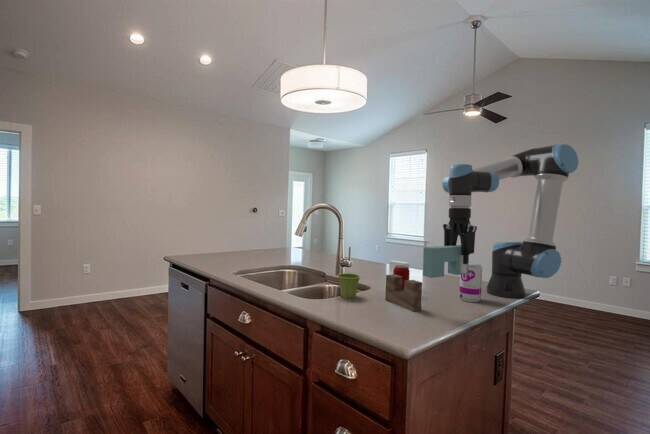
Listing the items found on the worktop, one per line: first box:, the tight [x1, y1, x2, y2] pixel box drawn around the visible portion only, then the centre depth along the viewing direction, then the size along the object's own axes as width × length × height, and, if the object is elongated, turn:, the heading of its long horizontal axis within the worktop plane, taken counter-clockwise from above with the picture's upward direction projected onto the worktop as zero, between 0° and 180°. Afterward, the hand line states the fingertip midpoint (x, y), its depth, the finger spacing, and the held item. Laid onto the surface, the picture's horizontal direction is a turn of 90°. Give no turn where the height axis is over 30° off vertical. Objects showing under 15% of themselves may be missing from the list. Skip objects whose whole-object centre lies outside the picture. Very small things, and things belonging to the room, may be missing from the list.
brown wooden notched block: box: [384, 274, 423, 312], centre depth 131 cm, size 4×16×10 cm, turn 28°
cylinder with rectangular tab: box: [388, 260, 410, 275], centre depth 159 cm, size 9×9×12 cm
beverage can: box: [393, 265, 411, 290], centre depth 147 cm, size 7×7×12 cm
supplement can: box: [458, 261, 483, 303], centre depth 141 cm, size 8×8×15 cm
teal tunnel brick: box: [422, 244, 468, 279], centre depth 123 cm, size 18×4×10 cm, turn 117°
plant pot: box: [337, 272, 362, 299], centre depth 141 cm, size 9×9×9 cm
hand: (457, 271), depth 126 cm, fingers closed on teal tunnel brick, 4 cm apart
